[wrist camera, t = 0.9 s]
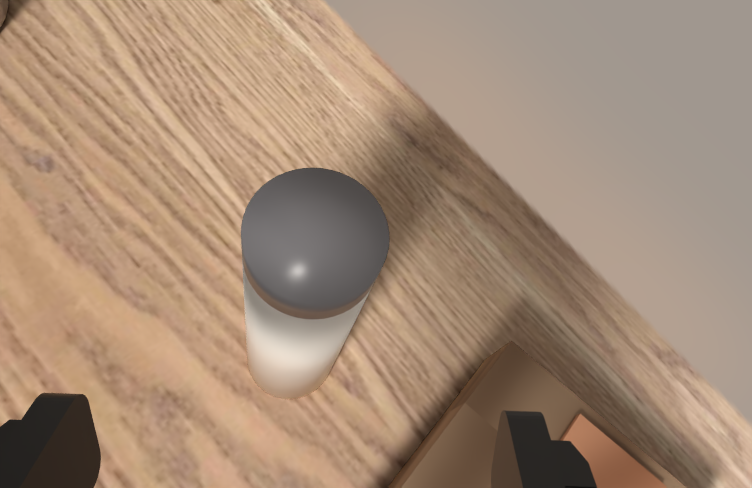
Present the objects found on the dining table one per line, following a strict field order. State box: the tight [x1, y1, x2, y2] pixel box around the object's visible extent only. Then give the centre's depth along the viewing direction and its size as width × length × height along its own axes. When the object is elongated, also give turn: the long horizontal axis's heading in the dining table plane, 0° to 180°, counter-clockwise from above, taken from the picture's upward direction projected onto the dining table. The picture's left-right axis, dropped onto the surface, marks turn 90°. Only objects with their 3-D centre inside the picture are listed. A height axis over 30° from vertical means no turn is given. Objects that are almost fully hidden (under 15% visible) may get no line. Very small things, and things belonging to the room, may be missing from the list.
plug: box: [241, 168, 389, 399], centre depth 26 cm, size 4×4×16 cm
